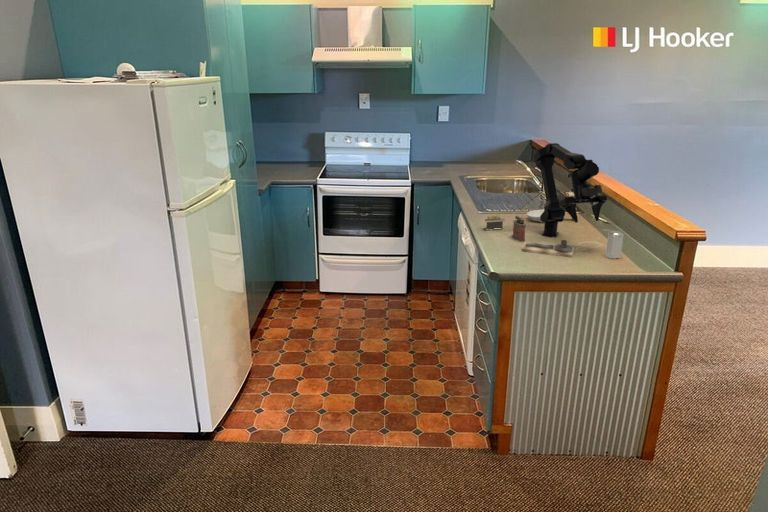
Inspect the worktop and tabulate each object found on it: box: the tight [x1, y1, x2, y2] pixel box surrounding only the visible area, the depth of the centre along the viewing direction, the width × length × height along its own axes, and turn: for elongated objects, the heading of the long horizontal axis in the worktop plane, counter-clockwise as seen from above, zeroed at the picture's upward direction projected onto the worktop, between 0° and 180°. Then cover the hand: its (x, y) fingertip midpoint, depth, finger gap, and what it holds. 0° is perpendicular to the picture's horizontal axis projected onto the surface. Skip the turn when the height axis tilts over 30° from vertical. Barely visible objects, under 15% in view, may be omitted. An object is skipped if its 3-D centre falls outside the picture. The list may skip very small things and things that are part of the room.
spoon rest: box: [526, 208, 573, 222], centre depth 268 cm, size 24×12×7 cm, turn 89°
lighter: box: [511, 215, 527, 243], centre depth 240 cm, size 8×3×10 cm, turn 17°
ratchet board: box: [520, 239, 575, 258], centre depth 226 cm, size 20×10×5 cm, turn 67°
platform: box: [484, 215, 506, 230], centre depth 255 cm, size 12×18×7 cm, turn 103°
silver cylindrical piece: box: [604, 230, 625, 259], centre depth 218 cm, size 6×6×10 cm
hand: (587, 221), depth 219 cm, fingers open, 9 cm apart
